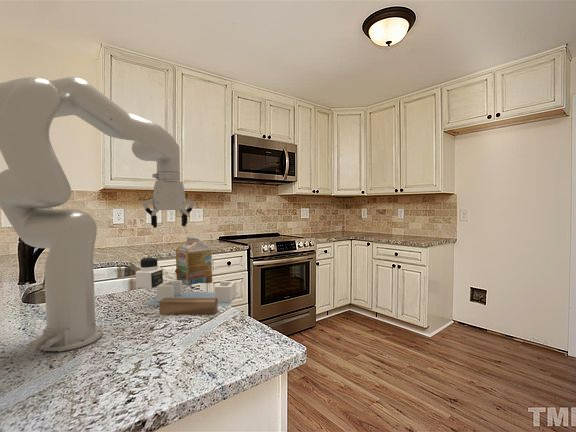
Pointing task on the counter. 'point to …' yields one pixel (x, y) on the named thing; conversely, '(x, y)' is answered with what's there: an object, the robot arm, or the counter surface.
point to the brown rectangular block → (188, 306)
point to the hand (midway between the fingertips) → (169, 226)
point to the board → (194, 295)
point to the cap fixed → (225, 291)
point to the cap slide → (169, 289)
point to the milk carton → (194, 262)
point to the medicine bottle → (149, 274)
